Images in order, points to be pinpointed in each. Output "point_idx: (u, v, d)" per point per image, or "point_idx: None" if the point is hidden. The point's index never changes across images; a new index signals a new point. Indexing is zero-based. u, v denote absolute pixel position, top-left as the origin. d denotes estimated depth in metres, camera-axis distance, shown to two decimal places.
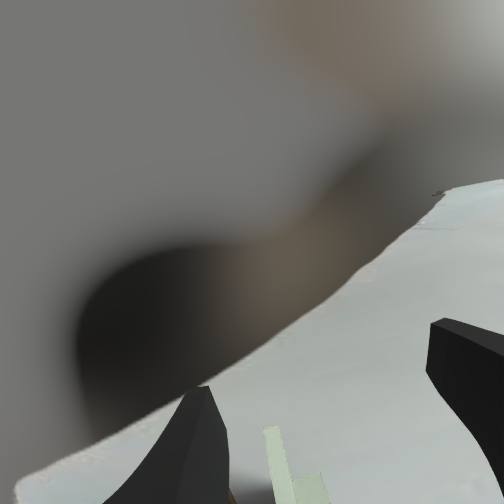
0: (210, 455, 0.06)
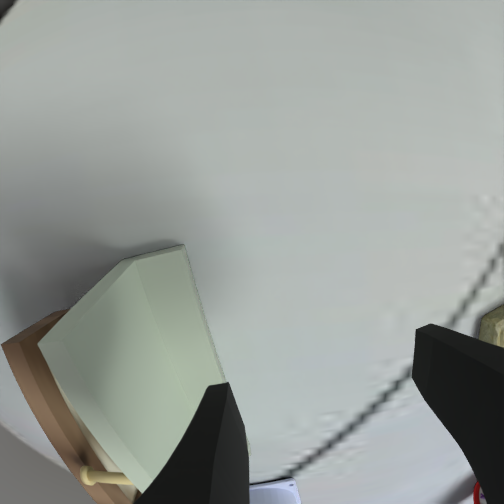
0: (233, 452, 0.06)
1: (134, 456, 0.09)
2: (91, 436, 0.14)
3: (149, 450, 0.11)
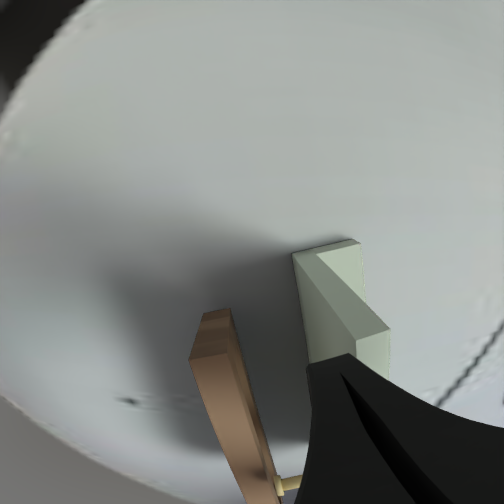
0: None
1: None
2: None
3: None
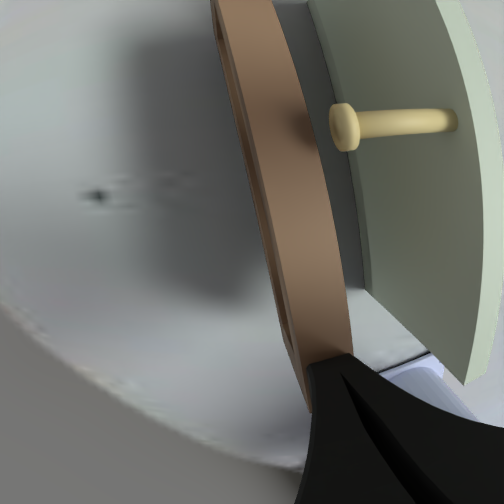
0: None
1: (465, 19, 0.05)
2: None
3: None
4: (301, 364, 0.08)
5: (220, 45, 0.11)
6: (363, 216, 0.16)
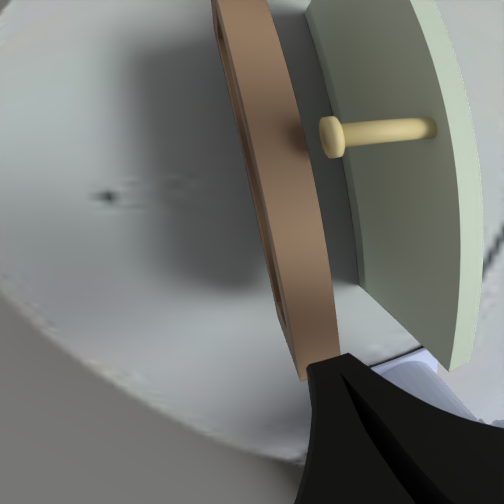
0: None
1: (446, 34, 0.06)
2: None
3: None
4: (292, 337, 0.10)
5: (221, 45, 0.12)
6: (357, 215, 0.17)
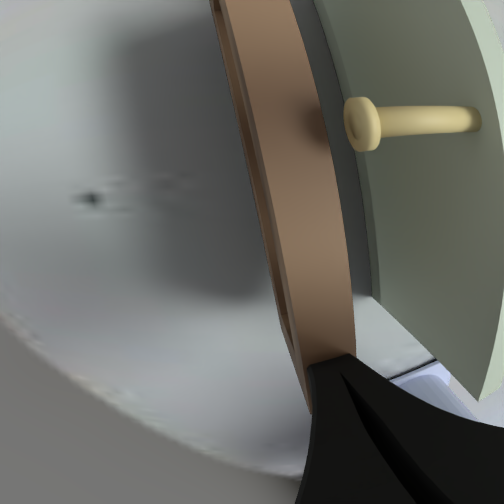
0: None
1: (486, 11, 0.04)
2: None
3: None
4: (303, 369, 0.08)
5: (217, 17, 0.09)
6: (372, 220, 0.15)
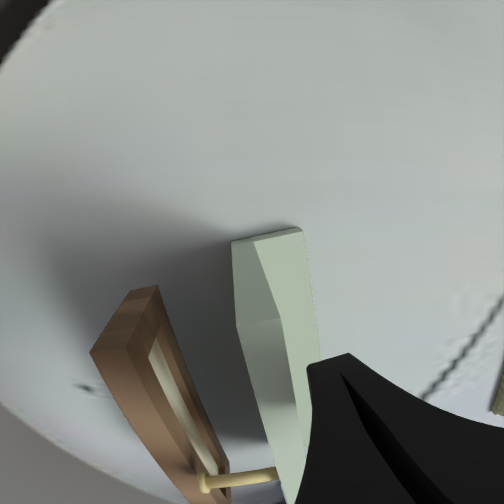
0: None
1: (302, 444, 0.10)
2: (186, 432, 0.14)
3: None
4: None
5: None
6: None
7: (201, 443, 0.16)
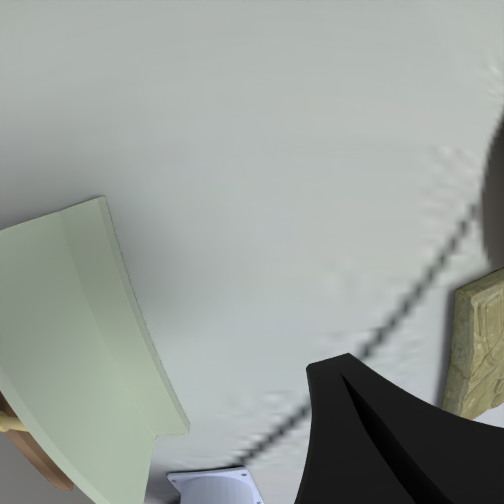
0: None
1: (13, 385, 0.08)
2: None
3: (38, 389, 0.10)
4: (41, 472, 0.12)
5: None
6: None
7: None
